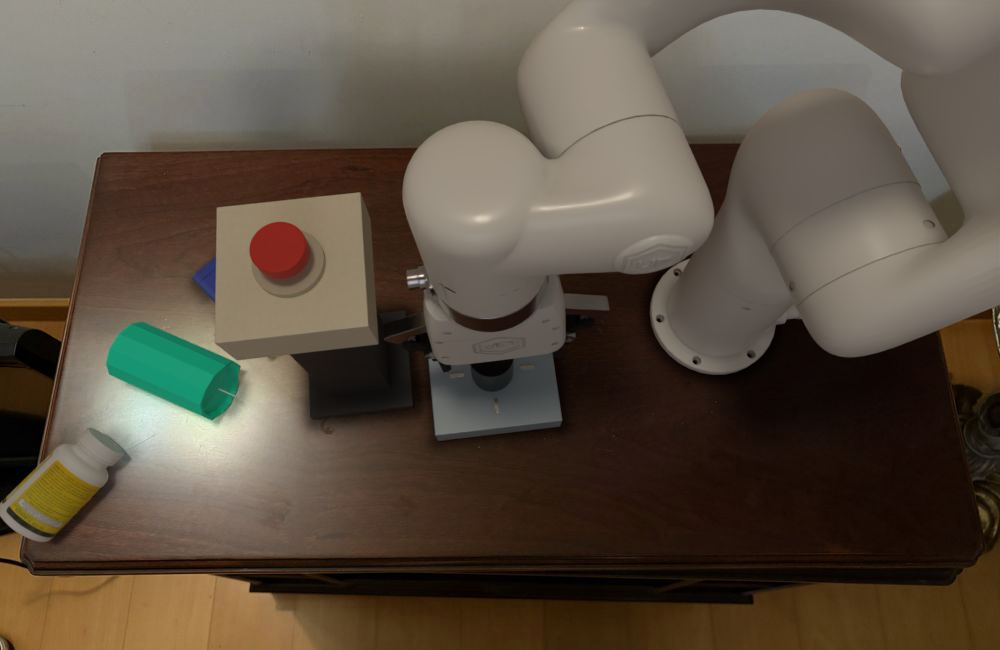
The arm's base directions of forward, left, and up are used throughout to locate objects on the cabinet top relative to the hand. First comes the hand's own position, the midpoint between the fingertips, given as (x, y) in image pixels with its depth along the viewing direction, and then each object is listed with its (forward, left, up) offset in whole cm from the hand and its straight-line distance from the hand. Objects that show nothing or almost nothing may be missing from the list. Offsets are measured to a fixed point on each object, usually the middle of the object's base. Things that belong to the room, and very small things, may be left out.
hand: (500, 348), depth 62 cm
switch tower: (+14, -3, -10) cm, 17 cm away
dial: (+1, 0, -7) cm, 7 cm away
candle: (+36, -6, -7) cm, 37 cm away
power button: (+14, -3, +16) cm, 21 cm away
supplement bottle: (+45, +9, -7) cm, 46 cm away
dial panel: (+1, 0, -10) cm, 10 cm away
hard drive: (+23, -12, -9) cm, 28 cm away
